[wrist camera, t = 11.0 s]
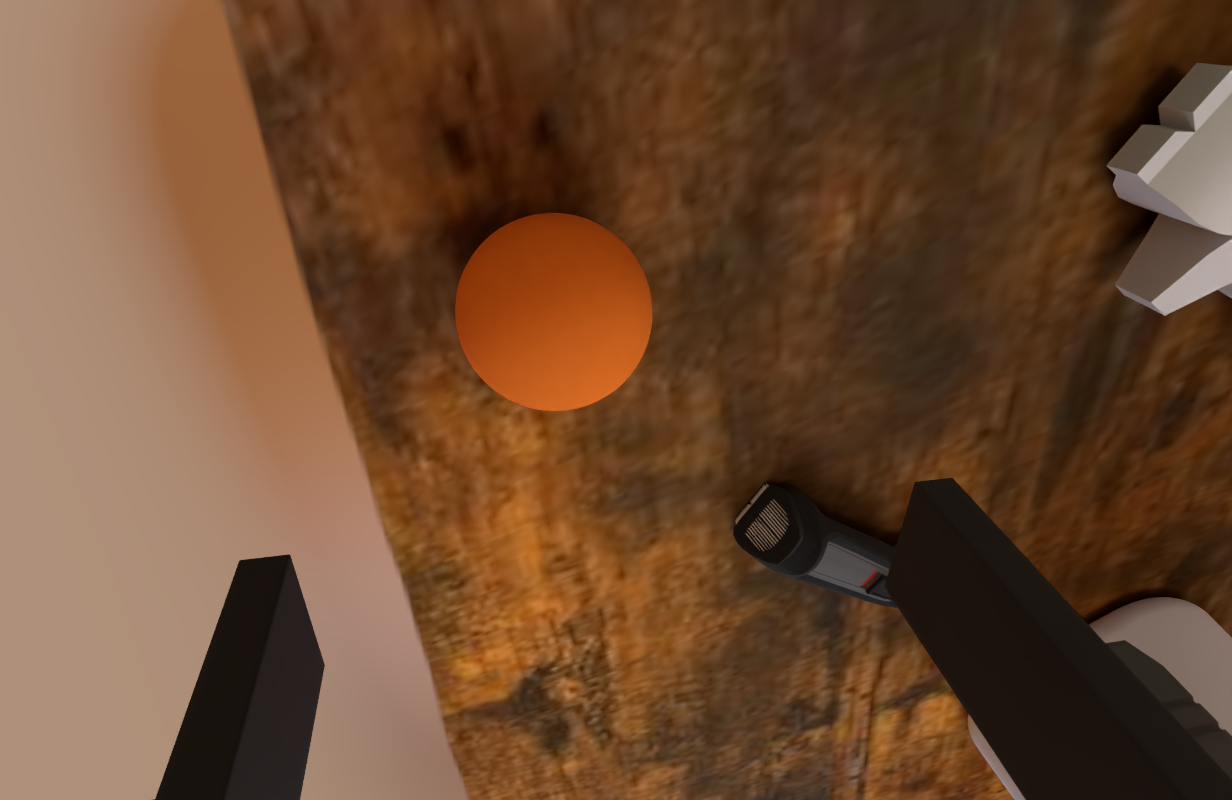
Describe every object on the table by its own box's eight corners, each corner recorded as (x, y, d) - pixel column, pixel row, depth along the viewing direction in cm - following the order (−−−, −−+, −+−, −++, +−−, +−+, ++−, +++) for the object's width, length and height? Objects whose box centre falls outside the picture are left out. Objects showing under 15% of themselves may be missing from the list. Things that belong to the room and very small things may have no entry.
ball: (445, 192, 23) (442, 262, 18) (632, 184, 24) (680, 249, 19) (464, 359, 26) (466, 459, 21) (629, 347, 27) (668, 439, 22)
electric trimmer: (939, 614, 39) (975, 662, 37) (723, 531, 33) (748, 583, 30) (989, 566, 38) (1030, 613, 35) (774, 471, 31) (804, 519, 29)
